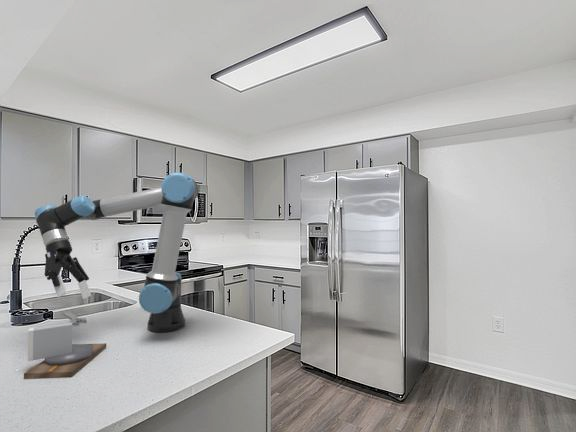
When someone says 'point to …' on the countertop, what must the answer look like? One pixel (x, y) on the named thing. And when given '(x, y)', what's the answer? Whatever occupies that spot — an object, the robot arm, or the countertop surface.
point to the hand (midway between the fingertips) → (75, 296)
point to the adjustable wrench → (73, 318)
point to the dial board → (62, 366)
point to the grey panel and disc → (56, 345)
